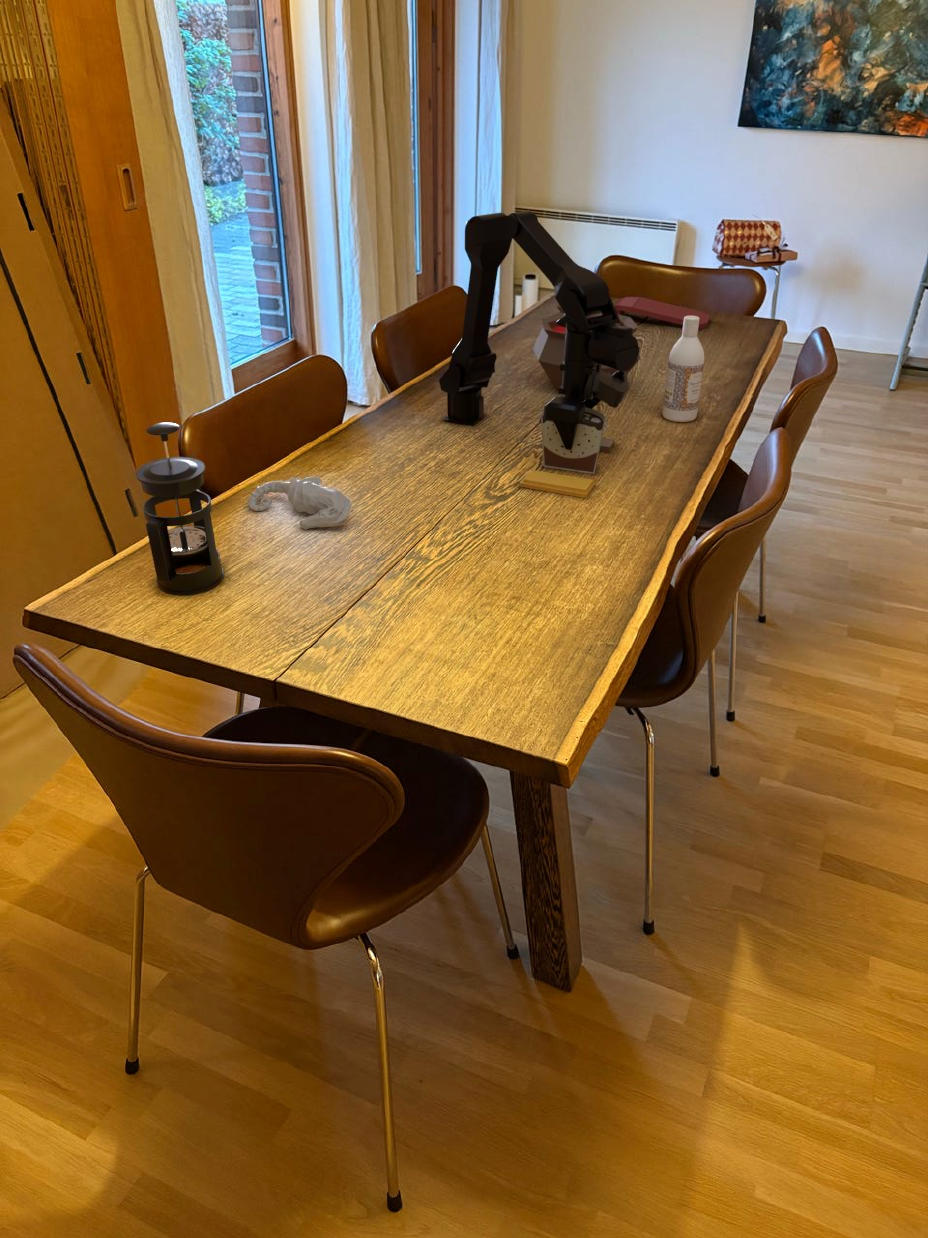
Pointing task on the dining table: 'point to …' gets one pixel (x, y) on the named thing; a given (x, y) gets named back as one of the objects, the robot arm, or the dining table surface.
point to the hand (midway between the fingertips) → (573, 443)
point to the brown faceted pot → (553, 345)
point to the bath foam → (684, 375)
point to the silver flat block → (606, 444)
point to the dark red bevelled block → (659, 310)
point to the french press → (179, 522)
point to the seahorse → (307, 501)
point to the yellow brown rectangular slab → (557, 483)
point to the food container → (583, 447)
